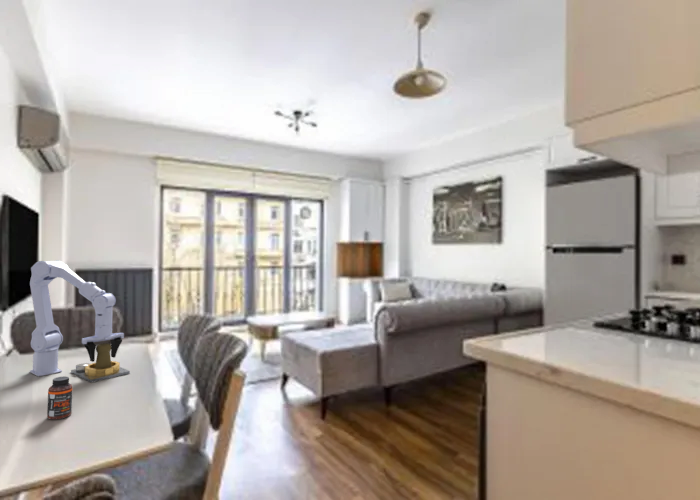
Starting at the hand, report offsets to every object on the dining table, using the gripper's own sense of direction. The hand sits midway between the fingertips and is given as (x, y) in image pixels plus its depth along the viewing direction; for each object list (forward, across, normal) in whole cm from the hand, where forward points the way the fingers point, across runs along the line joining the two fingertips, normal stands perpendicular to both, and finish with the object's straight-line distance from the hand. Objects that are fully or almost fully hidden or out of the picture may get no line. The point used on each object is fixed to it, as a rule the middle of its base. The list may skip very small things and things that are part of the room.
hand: (103, 359), depth 159 cm
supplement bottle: (+6, -25, -32) cm, 41 cm away
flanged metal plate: (+6, 0, +2) cm, 6 cm away
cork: (+5, 0, 0) cm, 5 cm away
